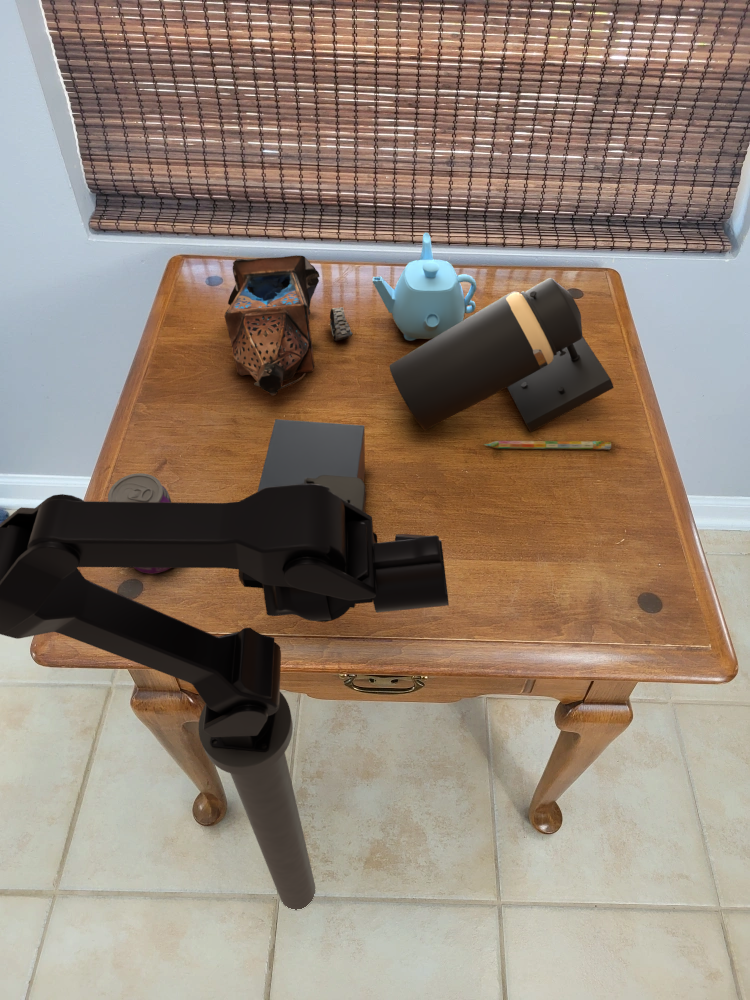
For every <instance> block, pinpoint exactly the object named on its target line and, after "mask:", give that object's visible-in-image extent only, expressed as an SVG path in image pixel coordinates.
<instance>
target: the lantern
mask: <svg viewBox="0 0 750 1000" xmlns="http://www.w3.org/2000/svg"><path fill="white" fill-rule="evenodd" d="M232 273H233V274H232V275H233V278H234V282H235V285H234V287H233V289H232V291H231V292H230V295H229V298H228V301H227V304H228V305H229V307H228V308H227V310H226V311H225V313H224V314H223V316H224V317H223V318H224V320H225V323H226V328H227V331H228V337H229V341H230V346H231V348H232V357H233V358H234V362H235V367H236V371H237V372H236V373H237V374H239V375H240V376H241V377H242V376H243V377H244V376H251V377H252V378H253V379H254V380H255V381H256V382H254V383H253V385H254V386H256V387H259V388H260V389H261V390H263V391H265V392H266V393H268V394H269V395H270V396H275V395H278V393H279V391H280V390H282V389H285V388H288V387H290V386H291V385H294V384H296V383H297V382H299V381H301V380H302V379H303V378H304V377H305V376H306V374H307V373H311V372H313V371H314V370H315V360H314V351H313V349H314V348H313V343H312V334H311V325H310V315H311V309H310V308H311V301H312V298H313V295H314V293H315V291H316V288H317V286H318V284H319V282H320V280H319V278H320V277H321V276H320V273H319V271H318V270H317V269H316V268H315V266H314V265H312V263H311V262H310V261H309V259H308V258H306V256H304V255H289V256H288V255H287V256H279V257H278V256H277V257H261V258H260V257H259V258H239V257H238V258H235V260H234V261H233V262H232ZM297 373H302V376H300V377H299V378H297V379H296V380H294V381H292V382H289V383H287V384H284V385H283V383H284V382H286V381H289V380H292V379H293V378H294V377H295V374H297Z"/></svg>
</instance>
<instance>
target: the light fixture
mask: <svg viewBox="0 0 750 1000" xmlns="http://www.w3.org/2000/svg"><path fill="white" fill-rule="evenodd" d="M581 313H582V312H581V311H580V308H579V306H578V304H577V302H576V300H575V299H574V297H573V295H572V294H571V292H570V291H569V290H568V289H566V288H565V287H564V286H562V285H561V284H560V283H559V282H558V281H556V279H554V278H552V277H548V278H546V279H544V280H543V281H541V282H539V283H538V284H536V285H534V286H532V287H531V288H529V289H527V290H525V291H524V290H522V291H520V292H519V291H511V292H509V293H507V294H505V295H503V296H502V297H500V298H499V299H497V300H495V301H493V302H492V303H489V304H488V305H487V306H485V307H482V308H481V309H479V310H478V311H476V312H475V313H473V314H471V315H470V316H468V317H466V318H464V319H463V321H461V322H459V323H458V324H456V325H454V326H453V327H451V328H449V329H448V330H446V331H444V332H443V333H441V334H439V335H438V336H436V337H434V338H433V339H429V340H428V341H426V342H425V343H423V344H421V345H420V346H418V347H416V348H415V349H413V350H412V351H409V352H408V353H407V354H404V355H403V356H402V357H400V358H398V359H397V360H395V361H394V362H392V363H390V364H389V366H388V367H389V372H390V374H391V377H392V380H393V382H394V384H395V386H396V388H397V390H398V393H399V394H400V396H401V398H402V401H404V403H405V405H406V407H407V409H408V410H409V411H410V413H411V415H412V417H413V418H414V419H415V421H416V422H417V423H418V425H419V426H420V427H421V428H422V429H423V430H424V431H427V430H429V429H431V428H433V427H435V426H437V425H438V424H440V423H443V422H444V421H446V420H448V419H450V418H452V417H454V416H456V415H458V414H459V413H462V412H464V411H465V410H467V409H469V408H471V407H473V406H475V405H477V404H478V403H481V402H482V401H485V400H486V399H488V398H490V397H492V396H494V395H495V394H497V393H499V392H501V391H503V390H505V389H507V390H508V392H509V395H510V397H511V398H512V400H513V402H514V404H515V405H516V408H517V410H518V411H519V414H520V416H521V417H522V419H523V421H524V424H525V425H526V427H527V428H528V431H529V432H530V433H532V432H534V431H536V430H537V429H539V428H541V427H543V426H545V425H547V424H548V423H549V424H550V423H551V422H552V421H554V420H556V419H558V418H560V417H562V416H564V415H566V414H567V413H570V412H571V411H573V410H575V409H577V408H578V407H580V406H583V405H585V404H586V403H588V402H590V401H593V400H594V399H596V398H597V397H599V396H601V395H603V394H605V393H607V392H609V391H611V390H613V389H614V388H615V387H614V384H613V382H612V378H611V376H610V375H609V374H608V372H607V371H606V369H605V368H604V367H603V365H602V363H601V362H600V360H599V358H598V357H597V355H596V354H595V352H594V351H593V349H592V348H591V347H590V345H589V344H588V342H587V340H586V339H585V337H584V336H583V326H582V314H581Z"/></svg>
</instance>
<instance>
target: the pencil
mask: <svg viewBox="0 0 750 1000" xmlns="http://www.w3.org/2000/svg"><path fill="white" fill-rule="evenodd" d="M482 445H483V446H486V447H491V448H494V449H499V450H500V449H502V450H503V449H505V450H507V449H508V450H509V449H510V450H512V449H514V450H518V449H519V450H608V451H609V450H611V449H612V442H611V440H605V441H604V440H591V441H590V440H589V441H587V440H585V441H584V440H583V441H582V440H496V441H492V442H488V443H487V442H486V443H483V444H482Z"/></svg>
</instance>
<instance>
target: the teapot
mask: <svg viewBox="0 0 750 1000" xmlns="http://www.w3.org/2000/svg"><path fill="white" fill-rule="evenodd" d="M432 248H433V247H432V239H431V235H430V233H429V232H424V233H423V235H422V247H421V252H420V257H419V259H416V260H412V261H410V262H408V263H407V264H406V266H405V267H404V269H403V270H402V272H401V274H400V276H399V278H398V280H397V282H396V284H395V288H392V286H391V285H390V284H389V283H388V282H387V281H386V280H385V279H384V278H383V276H372V284H373V285H374V287H375V289H376V291H377V293H378V295H379V297H380V298H381V300H382V302H383V304H384V306H385V308H386V310H387V312H388V313H389V314H391V316H392V319H393V321H394V323H395V325H396V327H397V328H398V329H399V331H400V332H401V333H402V334H403V338H404V339H405V340H406V341H410V342H412V341H415V340H417V339H421V340H422V339H424V340H431V339H433V338H434V337H436V336H438V335H439V334H441V333H443V332H444V331H446V330H448V329H449V328H451V327H453V326H454V325H456V324H458V323H459V322H461V321H463V320H465V314H471V313H474V312H475V310H476V303H475V301H474V300H472V299H473V298H474V295H475V293H476V291H477V281H476V279H475V278H474V277H473V276H471V275H469V274H466V273H465V274H464V273H462V274H457V272H456V270H455V268H454V266H453V265H452V264H451V263H450V262H448V261H446V260H443V259H434V255H433V249H432ZM461 283H469V284H470V288H469V290H468V291H467V294H466V295H465V294H464V289H463V287H462V284H461Z"/></svg>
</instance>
